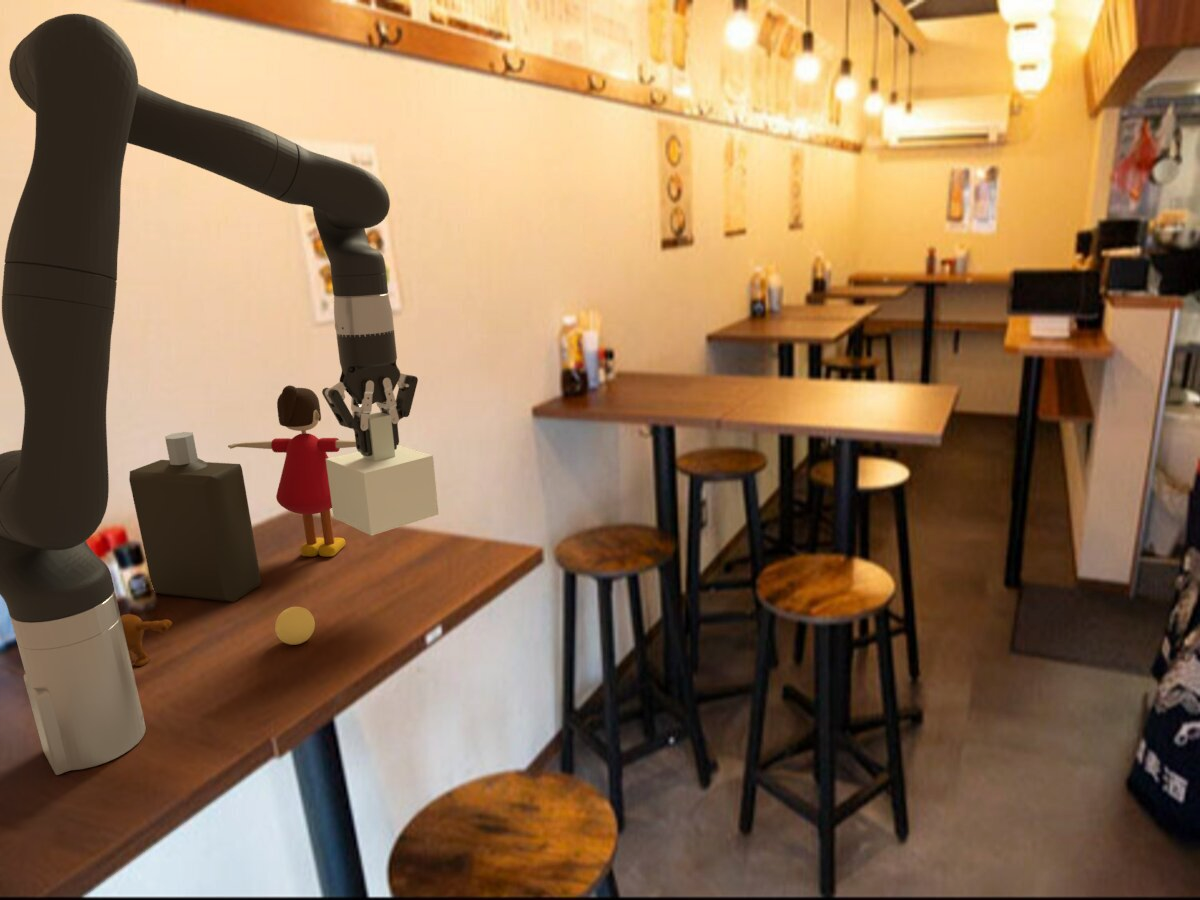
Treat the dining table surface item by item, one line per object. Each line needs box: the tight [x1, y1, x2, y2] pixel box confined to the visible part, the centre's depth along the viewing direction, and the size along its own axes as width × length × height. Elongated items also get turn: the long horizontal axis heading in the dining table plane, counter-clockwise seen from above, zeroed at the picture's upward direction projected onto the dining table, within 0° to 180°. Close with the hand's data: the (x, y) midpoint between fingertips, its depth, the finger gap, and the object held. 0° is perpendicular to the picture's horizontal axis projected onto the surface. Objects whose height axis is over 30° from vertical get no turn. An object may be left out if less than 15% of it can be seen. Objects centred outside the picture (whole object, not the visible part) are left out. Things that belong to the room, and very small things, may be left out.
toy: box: [227, 384, 356, 558], centre depth 133 cm, size 27×11×30 cm, turn 84°
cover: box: [326, 411, 439, 536], centre depth 113 cm, size 11×11×15 cm
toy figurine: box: [120, 613, 173, 667], centre depth 103 cm, size 12×4×7 cm, turn 85°
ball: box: [274, 606, 316, 646], centre depth 107 cm, size 5×5×5 cm
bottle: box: [128, 431, 261, 603], centre depth 122 cm, size 8×16×25 cm, turn 74°
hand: (379, 451), depth 112 cm, fingers closed on cover, 3 cm apart
